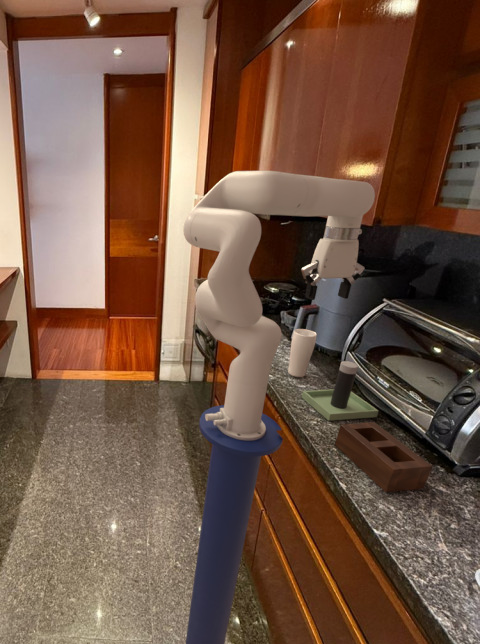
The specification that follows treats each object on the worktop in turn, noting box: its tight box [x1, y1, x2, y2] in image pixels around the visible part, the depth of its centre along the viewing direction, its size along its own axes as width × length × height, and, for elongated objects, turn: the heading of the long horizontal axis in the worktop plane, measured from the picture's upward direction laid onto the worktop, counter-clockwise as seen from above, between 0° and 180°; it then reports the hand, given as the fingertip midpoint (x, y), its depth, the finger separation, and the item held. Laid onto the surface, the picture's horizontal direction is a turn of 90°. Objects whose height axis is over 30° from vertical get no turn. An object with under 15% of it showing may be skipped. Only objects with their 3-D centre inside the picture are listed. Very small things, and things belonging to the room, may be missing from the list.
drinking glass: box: [287, 328, 318, 378], centre depth 126 cm, size 7×7×15 cm
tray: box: [301, 388, 379, 422], centre depth 110 cm, size 14×12×2 cm
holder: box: [334, 421, 433, 493], centre depth 87 cm, size 9×16×6 cm, turn 7°
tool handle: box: [330, 360, 359, 409], centre depth 108 cm, size 4×4×13 cm
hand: (326, 297), depth 106 cm, fingers open, 9 cm apart
